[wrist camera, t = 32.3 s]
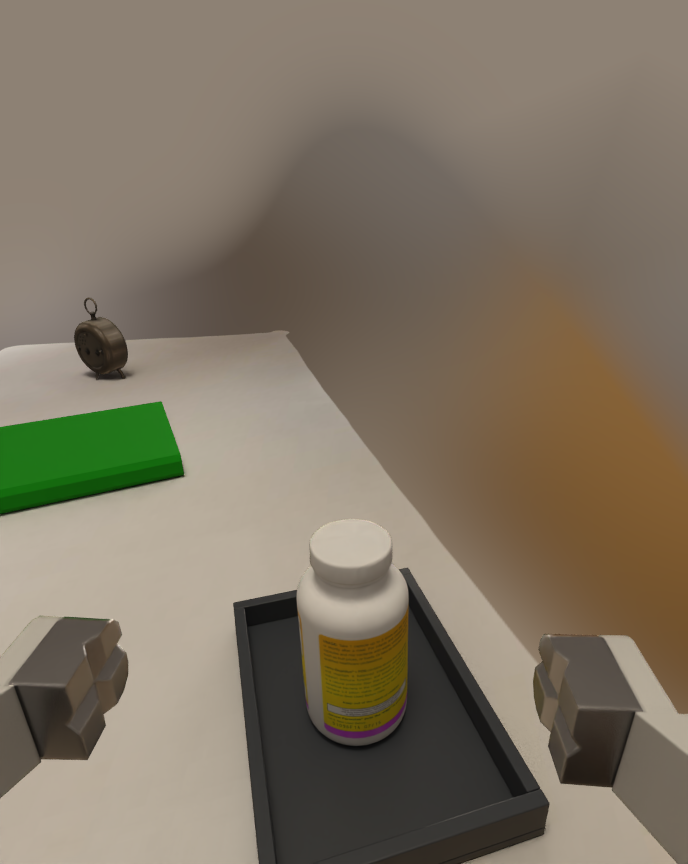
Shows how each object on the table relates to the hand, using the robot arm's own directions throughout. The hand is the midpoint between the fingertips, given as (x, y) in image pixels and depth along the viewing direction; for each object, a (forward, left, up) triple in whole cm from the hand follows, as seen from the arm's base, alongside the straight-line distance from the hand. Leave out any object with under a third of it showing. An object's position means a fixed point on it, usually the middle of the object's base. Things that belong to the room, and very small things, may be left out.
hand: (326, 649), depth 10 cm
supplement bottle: (+17, +2, -22) cm, 28 cm away
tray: (+17, +1, -23) cm, 28 cm away
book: (+50, +44, -23) cm, 70 cm away
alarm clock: (+88, +61, -23) cm, 110 cm away
